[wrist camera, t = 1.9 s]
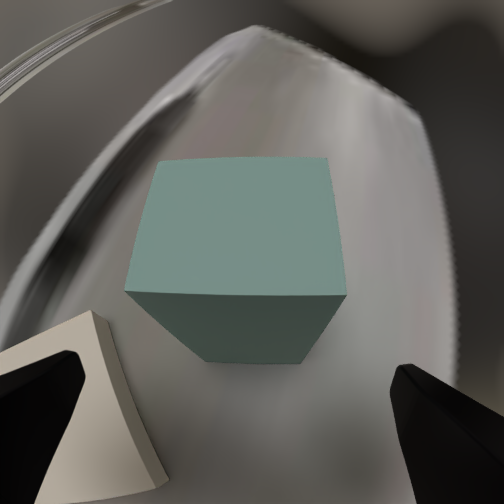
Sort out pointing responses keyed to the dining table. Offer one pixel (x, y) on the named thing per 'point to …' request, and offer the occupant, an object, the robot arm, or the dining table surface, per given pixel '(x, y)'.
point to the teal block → (240, 256)
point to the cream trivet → (93, 419)
